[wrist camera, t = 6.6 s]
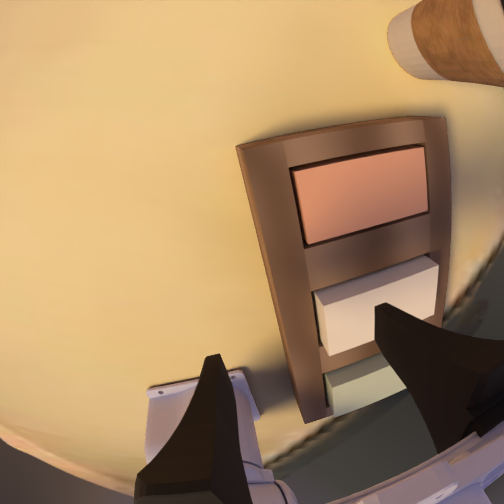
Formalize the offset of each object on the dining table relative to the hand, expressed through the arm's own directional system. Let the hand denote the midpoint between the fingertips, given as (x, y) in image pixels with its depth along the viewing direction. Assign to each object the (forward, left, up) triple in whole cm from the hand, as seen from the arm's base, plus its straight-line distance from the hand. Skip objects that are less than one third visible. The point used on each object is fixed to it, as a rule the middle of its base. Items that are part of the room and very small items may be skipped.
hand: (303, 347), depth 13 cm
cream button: (+7, -4, -9) cm, 12 cm away
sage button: (+7, -12, -9) cm, 16 cm away
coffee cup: (+16, +14, -11) cm, 24 cm away
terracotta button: (+7, +4, -10) cm, 13 cm away
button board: (+7, -4, -10) cm, 13 cm away
